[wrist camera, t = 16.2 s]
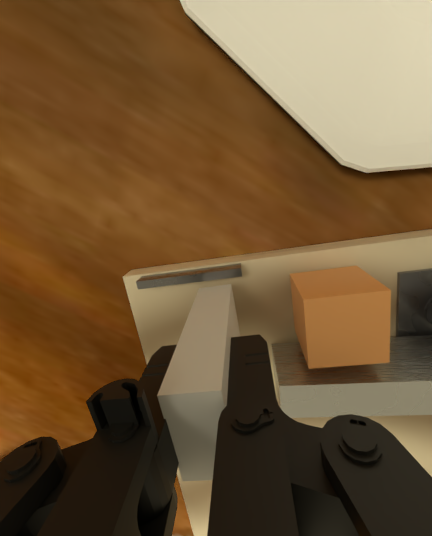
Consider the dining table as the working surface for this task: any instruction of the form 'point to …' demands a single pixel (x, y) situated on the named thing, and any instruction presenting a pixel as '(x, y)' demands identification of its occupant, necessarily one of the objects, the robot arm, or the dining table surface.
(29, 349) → the dining table surface
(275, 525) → the robot arm
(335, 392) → the bar
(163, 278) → the tongs base
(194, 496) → the board
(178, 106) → the dining table surface
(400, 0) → the plate
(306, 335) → the orange cube
